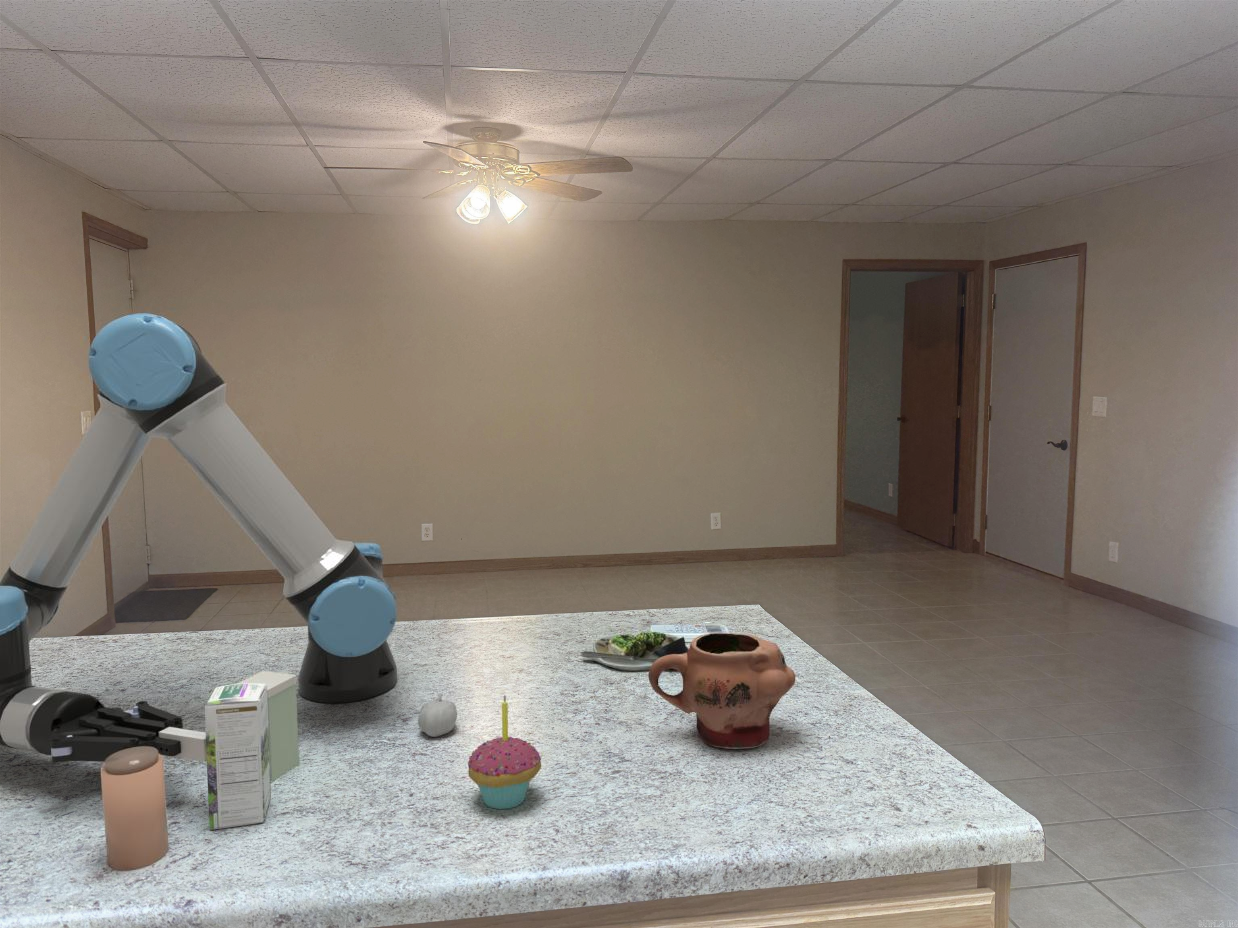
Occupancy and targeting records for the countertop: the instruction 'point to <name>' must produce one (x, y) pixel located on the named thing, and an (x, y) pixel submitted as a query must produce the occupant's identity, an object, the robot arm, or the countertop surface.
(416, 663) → the countertop surface
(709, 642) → the brown clay mug
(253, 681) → the tea tin
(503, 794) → the cupcake
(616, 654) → the salad plate
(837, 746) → the countertop surface
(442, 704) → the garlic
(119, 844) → the canister
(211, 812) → the syrup box
